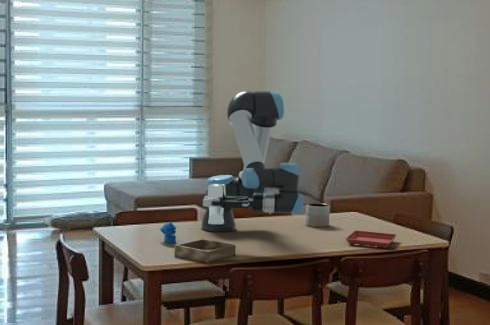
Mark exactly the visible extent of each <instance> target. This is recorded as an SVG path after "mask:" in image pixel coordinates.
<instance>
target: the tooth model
mask: <svg viewBox="0 0 490 325" xmlns="http://www.w3.org/2000/svg"><path fill="white" fill-rule="evenodd" d="M220 198H222V200H226V188H225V185H224V184H209V186H208V199H220ZM223 211H224V208H222V207H210V206H209V213H210V214H209V221H208V223H209V224H214V225H219V224H224V219H223Z"/></svg>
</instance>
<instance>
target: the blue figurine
mask: <svg viewBox="0 0 490 325" xmlns="http://www.w3.org/2000/svg"><path fill="white" fill-rule="evenodd" d="M176 229H177V227H176V226H175V224H173V222H172V221H169V222H166V223H165V224H163V225H162V226H161V227H160V228H159V230H160V231H161V233H162V234H163V235H164V236H163V237H164V242H167V243H169V244H173V243H174V244H175V243H176V241H177V240H176V235H175V234H177V231H176Z"/></svg>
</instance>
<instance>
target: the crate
mask: <svg viewBox="0 0 490 325" xmlns="http://www.w3.org/2000/svg"><path fill="white" fill-rule="evenodd" d="M234 255H235V256H236V244H233V243H227V242H222V241H217V240H211V239H207V238H206V239H205V238H200V239H196V240H191V241H187V242H183V243H179V244H178V243H177V244H174V257H178V256H179V258H184V259H188V260H194V261H198V262H202V263H207V264H208V263H212V262H216V261H220V260H224V259H227V257H228V258H231V257H235V256H234Z"/></svg>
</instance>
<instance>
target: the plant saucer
mask: <svg viewBox="0 0 490 325" xmlns="http://www.w3.org/2000/svg"><path fill="white" fill-rule="evenodd" d="M396 237H397V234H395V233H387V232H385V233H384V232H376V231H365V230H354V231H352V232H351V233H350V234H349V235H348V236H347V237H345V240H346V242H348V244H349V245H350V244H359V245H369V246H377V247H383V248H382V249H387V248H388V247H389V246H390V245H391V243H392V242H394V240H395V239H396ZM377 247H376V248H377Z"/></svg>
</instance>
